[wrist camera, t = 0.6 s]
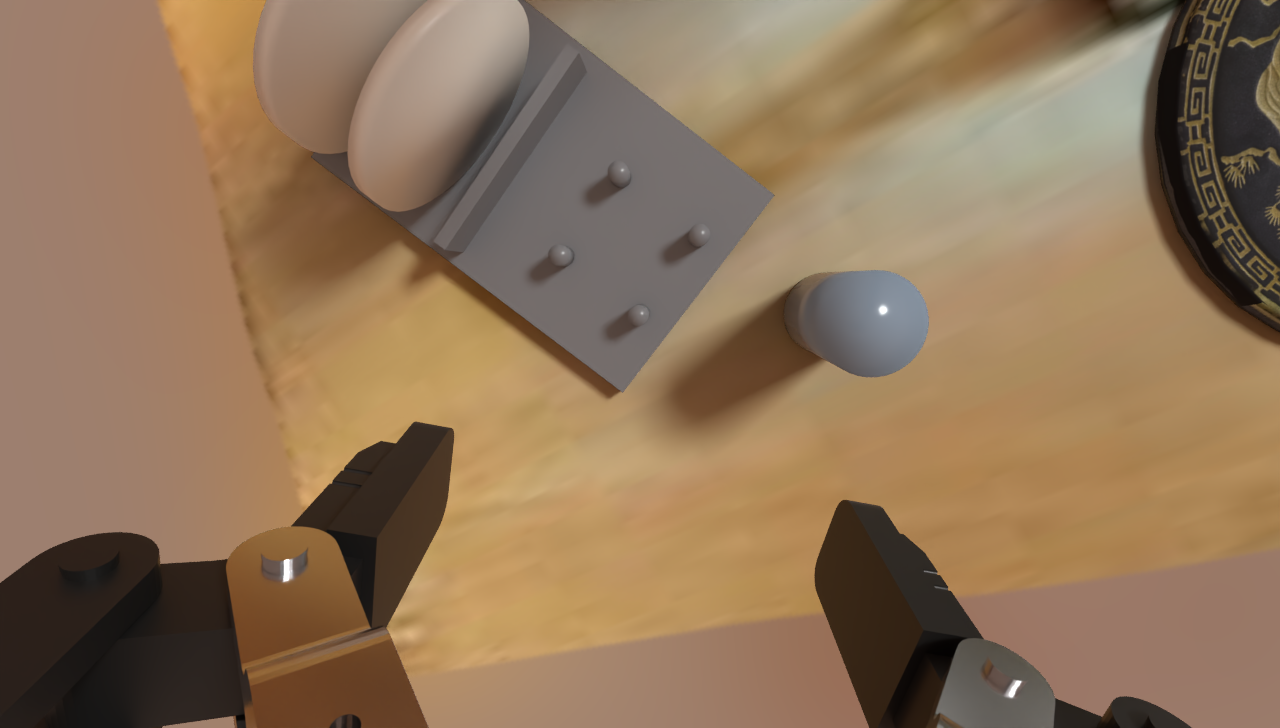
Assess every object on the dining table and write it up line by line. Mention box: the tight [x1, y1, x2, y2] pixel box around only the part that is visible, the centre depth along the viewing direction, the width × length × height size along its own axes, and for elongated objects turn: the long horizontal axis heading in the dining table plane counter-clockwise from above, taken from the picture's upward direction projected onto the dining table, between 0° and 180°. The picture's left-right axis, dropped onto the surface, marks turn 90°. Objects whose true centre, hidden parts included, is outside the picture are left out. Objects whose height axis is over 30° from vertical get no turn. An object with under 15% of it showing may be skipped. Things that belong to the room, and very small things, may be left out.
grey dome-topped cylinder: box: [784, 270, 929, 377], centre depth 33 cm, size 5×5×10 cm
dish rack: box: [253, 0, 774, 392], centre depth 31 cm, size 15×24×13 cm, turn 53°
